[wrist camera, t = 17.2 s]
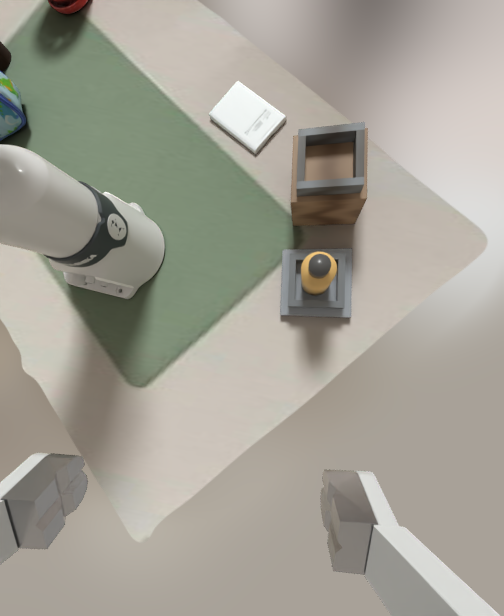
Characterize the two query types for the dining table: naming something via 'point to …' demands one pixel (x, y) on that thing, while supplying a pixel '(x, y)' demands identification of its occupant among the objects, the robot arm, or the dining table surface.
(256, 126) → the external hard drive
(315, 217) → the walnut stand
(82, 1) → the plant pot
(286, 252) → the low socket
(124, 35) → the dining table surface
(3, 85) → the lunch box
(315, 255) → the yellow bottle
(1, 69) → the coffee mug
